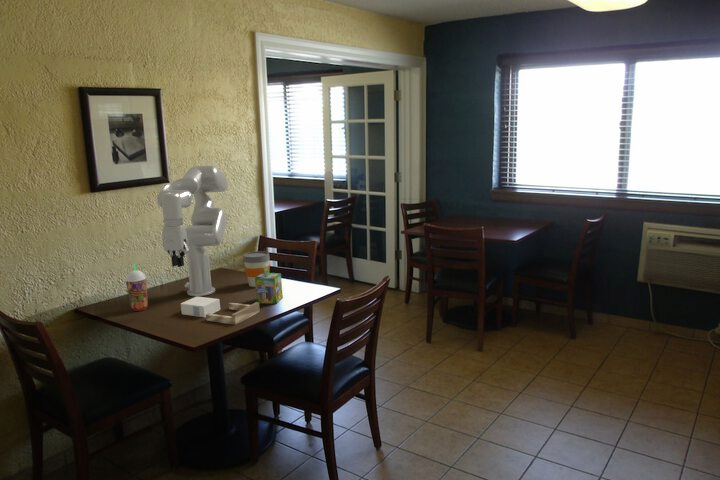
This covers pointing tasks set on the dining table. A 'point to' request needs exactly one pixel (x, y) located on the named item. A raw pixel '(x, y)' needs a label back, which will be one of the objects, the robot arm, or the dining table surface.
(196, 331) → the dining table surface
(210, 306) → the carton
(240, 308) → the open wooden frame
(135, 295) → the smoothie
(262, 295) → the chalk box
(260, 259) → the reusable coffee cup
